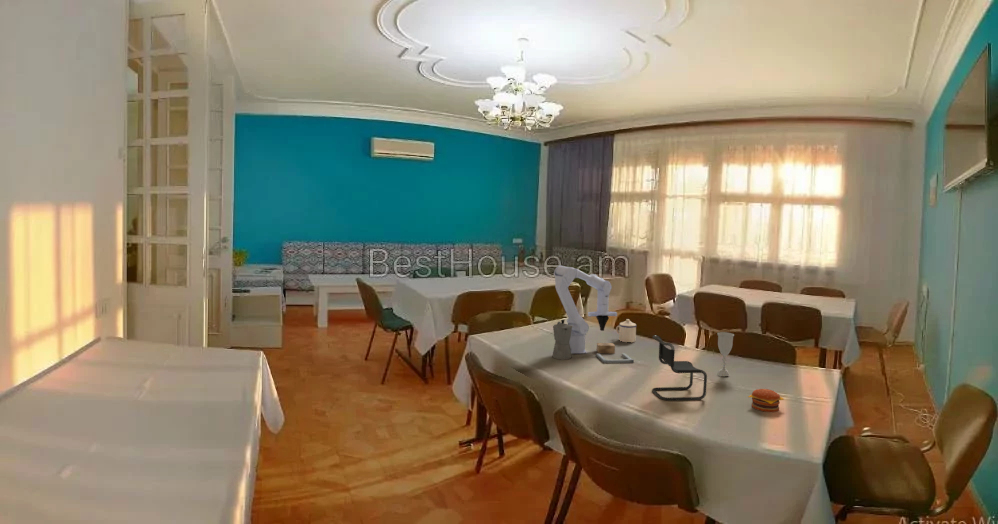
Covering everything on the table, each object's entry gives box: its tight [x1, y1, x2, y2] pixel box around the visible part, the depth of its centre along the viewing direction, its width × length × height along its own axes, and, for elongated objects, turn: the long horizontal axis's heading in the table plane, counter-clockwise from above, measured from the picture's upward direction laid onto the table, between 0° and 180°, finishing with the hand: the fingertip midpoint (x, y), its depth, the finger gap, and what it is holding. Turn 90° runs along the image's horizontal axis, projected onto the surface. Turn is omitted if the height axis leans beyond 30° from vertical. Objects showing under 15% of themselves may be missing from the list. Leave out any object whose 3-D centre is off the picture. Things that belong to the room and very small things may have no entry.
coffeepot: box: [552, 319, 572, 360], centre depth 272 cm, size 15×9×18 cm, turn 8°
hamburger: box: [747, 388, 785, 413], centre depth 206 cm, size 9×10×7 cm
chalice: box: [717, 331, 735, 377], centre depth 245 cm, size 7×7×18 cm
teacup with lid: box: [615, 318, 637, 343], centre depth 307 cm, size 12×9×12 cm
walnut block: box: [596, 342, 616, 354], centre depth 282 cm, size 8×5×4 cm, turn 90°
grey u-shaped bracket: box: [595, 352, 635, 364], centre depth 269 cm, size 14×12×1 cm
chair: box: [651, 335, 708, 402], centre depth 218 cm, size 13×17×22 cm
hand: (602, 330), depth 288 cm, fingers closed
